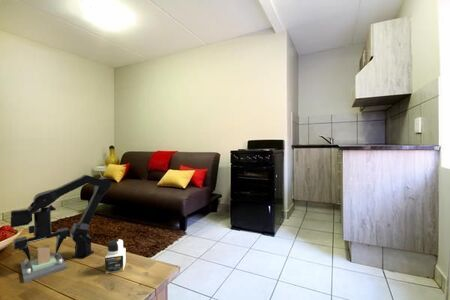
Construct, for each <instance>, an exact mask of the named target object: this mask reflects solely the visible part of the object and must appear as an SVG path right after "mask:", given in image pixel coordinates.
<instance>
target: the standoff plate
mask: <svg viewBox="0 0 450 300" xmlns="http://www.w3.org/2000/svg"><path fill="white" fill-rule="evenodd" d="M52 255H54V257H55V259H56V261H57V264H55V265H52V266H49V267H45V268H42V269H39V270H36V271H33V270H32V266H31V261H35V260H37V257H36V258H33V259H30V261H29V260H28V258H26V259H24V261H21V262H20V269H21V273H22V278H23V279H22V280H23V283H27V282H31V281H33V280H36V279H39V278H42V277H45V276H48V275H51V274H53V273H57V272H60V271H63V270H66V269H68V265H67V263H66V261H65V260H64V258H63V256H62V255H61V253H60V251H58V252H57V253H56V250H55V251H54V252H53V253H50V256H52Z"/></svg>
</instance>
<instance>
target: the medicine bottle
mask: <svg viewBox="0 0 450 300" xmlns="http://www.w3.org/2000/svg"><path fill="white" fill-rule="evenodd" d="M126 256H127V252H126V247H124V241H123V239H119V238H118V239H117V238H116V239H112V240H111V241H110V240H109V242H108V243H107V252H106V254H105V257H104V273H105V274H111V273H117V272H123V271H124V270H125V266H126V260H127V258H126Z"/></svg>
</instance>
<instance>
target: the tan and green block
mask: <svg viewBox="0 0 450 300" xmlns="http://www.w3.org/2000/svg"><path fill="white" fill-rule="evenodd" d="M50 254H51V248H50V246H49V245H45V246H44V245H43V246H40V247H37V248H36V258H37V260H35V261H31V266H32V270H33V271H36V270H39V269H42V268H45V267H49V266H52V265H55V264H57V261H56V259H55V257H54V255H52V256H50Z"/></svg>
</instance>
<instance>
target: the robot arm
mask: <svg viewBox="0 0 450 300" xmlns="http://www.w3.org/2000/svg"><path fill="white" fill-rule="evenodd" d="M86 184H88V185H92V186H94V187H93V194H92V195H91V198H90V200H89V202H88V203H87V206H86V208H85V210H84V212H83V214H82V216H81V217H80V220H79V221H78V222H77V223H76V222H74V223H72V226H71V228H70V230H69V228H67V227H62V228H58V229H56V231H55V232H52V220H51V219H52V216H51V215H52V213H51V212H53V211H54V212H55V211H56V210H57V208H56V207H55V206H53V205H52V204H53V203H54V202H56V201H57V200H58V199H59V198H61V197H62V196H64V195H66V194H68V193H70V192H73V191H74V190H77V189H79V188H81V187H83V186H85V185H86ZM112 184H113V183H112V181H111V179H109V178H107V177H104V176H101V177H96V176H91V175H89V174H83V175H82V176H80V177H78V178H75V179H73V180H72V181H69V182H67V183H65V184H63V185H61V186H59V187H57V188H54V189H49V190H45V191H42V192H38V193H37V194H35V196H34V197H33V199H32V203H30V205H28V207H27V208H25V209H24V208H23V209H19V210H10V229H13V228H19V227H22V226H27V225H28V234H29V235H30V234H33V237H29V238H27V236H22V237H16V238H15V239H14V240H13V249H14V250H18V251H23V253H24V254H25V256H26V257H27V258H26V259H28V260H29V261H30V260H31V253H30V249H29V245H28V244H31V243H33V242H39V241H42V240H48V239H52V238H55V237H56V240H55V241H56V242H55V251H56V253H57V252H59V249H60V247H61V244H62V243H63V242H64V240H66V239H67V237H70V238H71V239H72V241H73V242H74V243H75V245H74V254H73V255H72V257H73V258H77V259H85V258H86V257H88V256H91V254H94V252H95V251H94V250H92V241H93V238H92V237H91V236H90V235H89V234H88V232H89V228H90V223H91V221H92V219H93V217H94V216H95V215H94V214H95V213H96V210H97V208H98V206H99V204H100V203H101V200H102V198H103V197H104V195H105V194H106V193H108V191H109V190H110V188H112ZM32 222H33V225H30V224H31V223H32ZM29 225H30V226H29Z"/></svg>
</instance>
